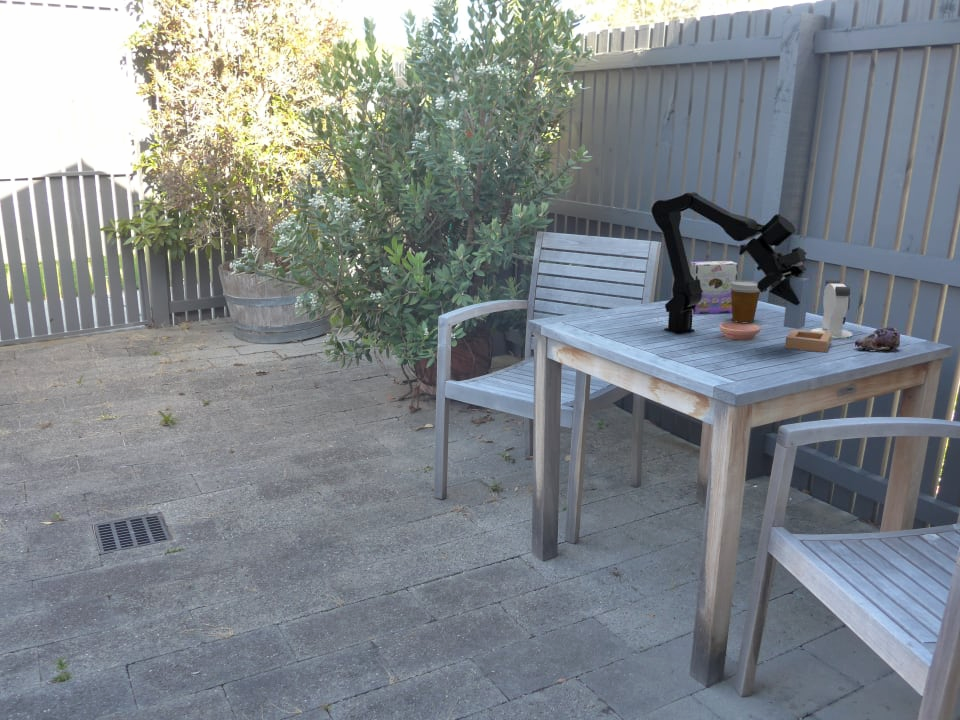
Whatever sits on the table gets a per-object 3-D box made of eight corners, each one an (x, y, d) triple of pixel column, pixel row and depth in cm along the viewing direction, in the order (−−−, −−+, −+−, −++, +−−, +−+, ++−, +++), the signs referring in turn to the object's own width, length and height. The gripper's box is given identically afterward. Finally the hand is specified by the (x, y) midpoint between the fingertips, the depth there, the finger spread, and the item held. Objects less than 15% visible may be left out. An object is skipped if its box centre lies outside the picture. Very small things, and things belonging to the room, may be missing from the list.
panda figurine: (858, 339, 239) (864, 287, 235) (817, 338, 240) (823, 287, 236) (845, 329, 251) (850, 280, 247) (806, 328, 252) (811, 279, 248)
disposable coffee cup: (762, 324, 257) (766, 286, 254) (731, 324, 257) (734, 286, 254) (753, 317, 266) (757, 280, 263) (723, 317, 267) (726, 280, 263)
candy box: (728, 309, 278) (732, 260, 274) (734, 313, 273) (738, 263, 268) (687, 310, 277) (690, 260, 273) (693, 314, 272) (696, 263, 267)
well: (784, 347, 231) (786, 337, 230) (791, 339, 239) (792, 329, 239) (825, 352, 226) (826, 341, 225) (830, 343, 234) (832, 333, 234)
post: (783, 326, 225) (788, 278, 221) (790, 324, 228) (794, 276, 224) (798, 328, 222) (803, 280, 219) (804, 326, 225) (809, 278, 222)
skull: (859, 353, 226) (861, 331, 224) (847, 345, 233) (849, 324, 231) (903, 353, 225) (906, 330, 224) (890, 345, 233) (893, 324, 231)
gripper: (772, 241, 215) (810, 289, 210) (802, 234, 228) (839, 279, 224) (741, 268, 222) (777, 315, 218) (772, 260, 235) (807, 304, 231)
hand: (801, 303), depth 222 cm, fingers closed on post, 4 cm apart
